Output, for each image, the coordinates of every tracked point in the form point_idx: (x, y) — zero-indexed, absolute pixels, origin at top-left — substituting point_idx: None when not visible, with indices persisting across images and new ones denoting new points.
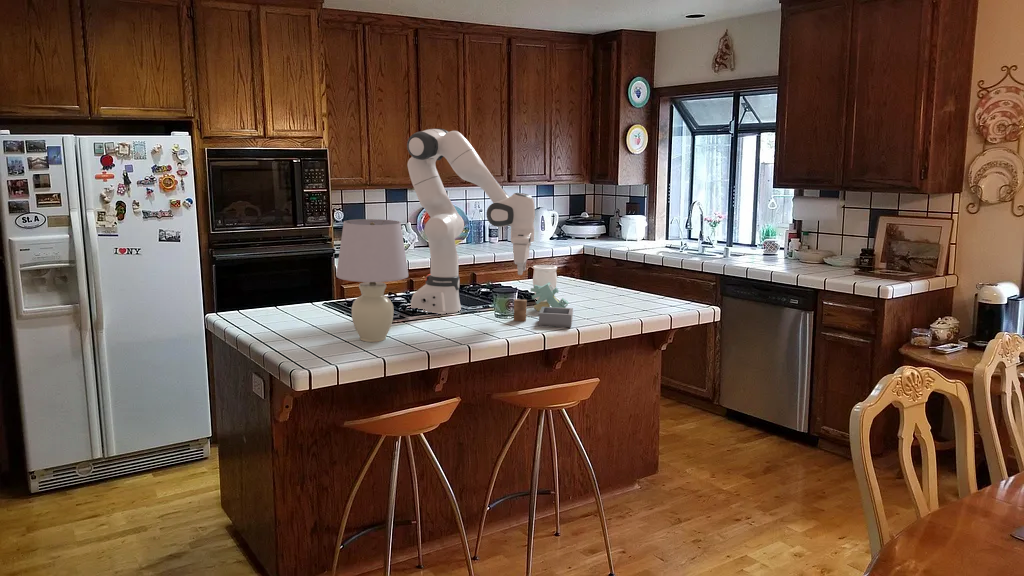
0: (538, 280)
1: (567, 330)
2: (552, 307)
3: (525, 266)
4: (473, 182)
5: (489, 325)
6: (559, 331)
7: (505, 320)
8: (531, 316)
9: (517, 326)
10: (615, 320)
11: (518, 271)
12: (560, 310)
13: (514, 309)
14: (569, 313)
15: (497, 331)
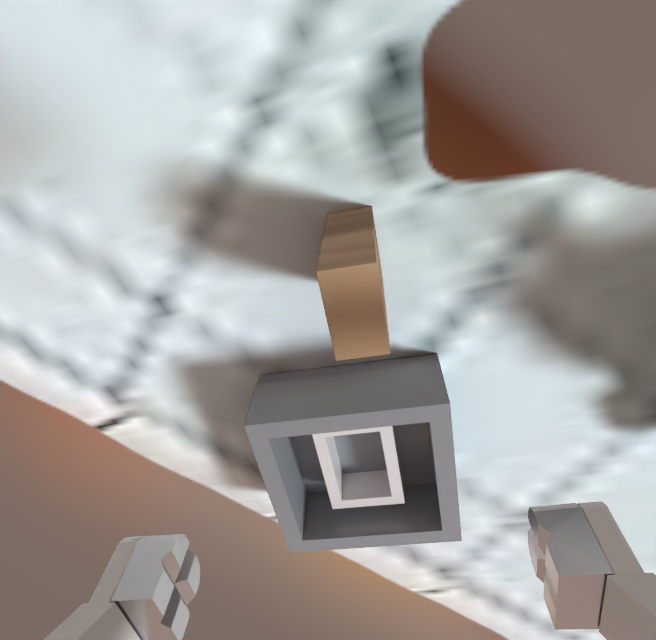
0: None
1: (248, 489)
2: (446, 457)
3: (603, 623)
4: None
5: (112, 95)
6: (211, 467)
7: (316, 155)
8: (502, 283)
9: (195, 276)
10: (517, 601)
11: (103, 589)
12: (436, 483)
13: (322, 245)
14: (319, 542)
15: (7, 204)
